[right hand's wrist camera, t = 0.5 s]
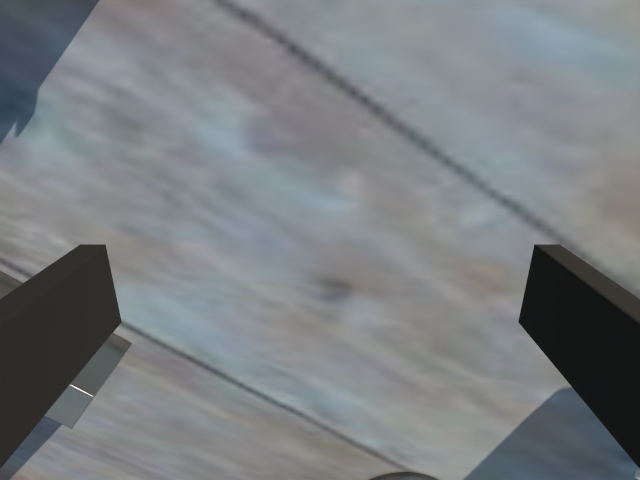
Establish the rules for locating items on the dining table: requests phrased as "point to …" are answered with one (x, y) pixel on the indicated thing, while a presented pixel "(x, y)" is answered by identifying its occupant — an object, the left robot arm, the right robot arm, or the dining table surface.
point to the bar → (89, 377)
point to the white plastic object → (637, 474)
